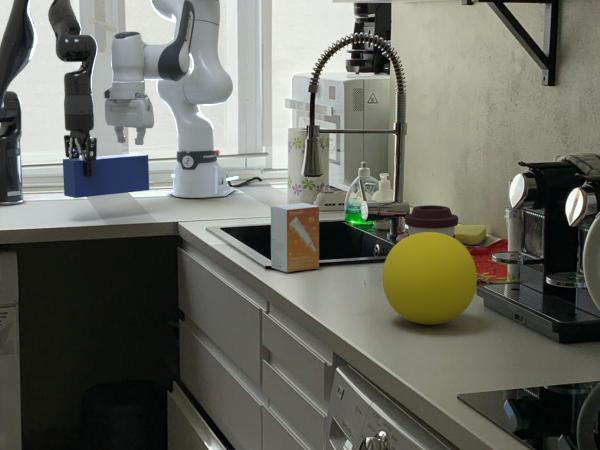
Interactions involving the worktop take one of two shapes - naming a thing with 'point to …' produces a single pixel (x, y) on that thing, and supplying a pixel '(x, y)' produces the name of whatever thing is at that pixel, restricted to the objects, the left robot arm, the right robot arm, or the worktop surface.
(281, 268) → the small box
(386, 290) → the toy
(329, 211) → the worktop surface
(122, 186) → the box
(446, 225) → the coffee cup
